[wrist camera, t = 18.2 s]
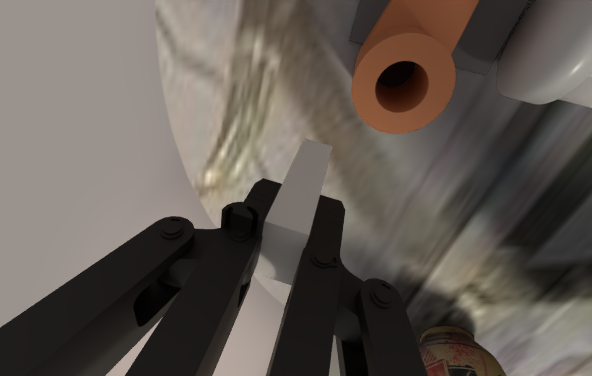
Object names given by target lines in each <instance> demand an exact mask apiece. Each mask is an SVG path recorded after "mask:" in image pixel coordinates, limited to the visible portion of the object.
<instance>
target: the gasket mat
mask: <svg viewBox="0 0 592 376" xmlns="http://www.w3.org/2000/svg"><path fill="white" fill-rule="evenodd" d="M389 1H390V0H360V4H359V8H358V11H357V15H356V18H355V22H354V26H353V29H352V33H351V37H350V40H349V41H353V42H357V43H361V44H364V42H365V41H366V39H367V37H368V36H369V34H370V32H371V31H372V29H373V27H374V26H375V24H376V23H377V21H378V19H379V18H380V16H381V14H382V13H383V11H384V9H385V8H386V6H387V4H388V3H389ZM528 1H529V0H479V2H478V4H477V6H476V8H475V10H474V12H473V14H472V15H471V17H470V19H469V21H468V23H467V25H466V27H465V29H464V31H463V33H462V35H461V37H460V39H459V40H458V42H457V44H456V46H455V48H454V50H453V52H452V54H451V57H452V59H453V62H454V65H455V68H459V69H463V70H467V71H471V72H475V73H478V74H482V75H486V74H487V72H488V70H489V69H490V67H491V65H492V64H493V62H494V60H495V58H496V57H497V55H498V53H499V51H500V50H501V48H502V46H503V44H504V43H505V41H506V39H507V37H508V36H509V34H510V32H511V31H512V29H513V27H514V25H515V24H516V22H517V20H518V18H519V17H520V15H521V13H522V11H523V10H524V8H525V6H526V4H527V3H528Z"/></svg>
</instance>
